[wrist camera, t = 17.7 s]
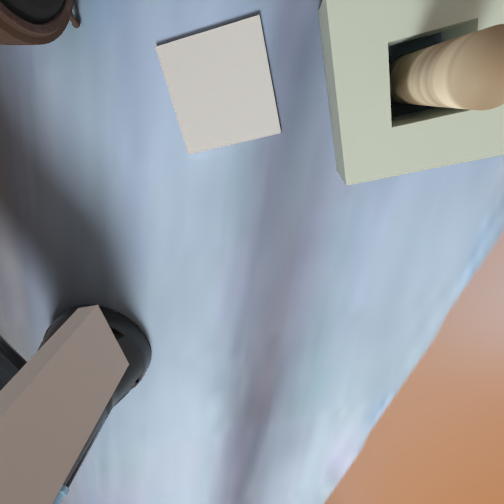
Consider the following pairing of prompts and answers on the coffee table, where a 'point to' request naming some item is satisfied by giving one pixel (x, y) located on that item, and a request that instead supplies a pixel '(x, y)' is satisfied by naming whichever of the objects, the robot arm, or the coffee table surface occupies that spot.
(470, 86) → the peg
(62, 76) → the coffee table surface
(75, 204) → the coffee table surface
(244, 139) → the coaster
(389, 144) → the socket block
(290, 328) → the coffee table surface
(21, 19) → the alarm clock
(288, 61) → the coffee table surface
